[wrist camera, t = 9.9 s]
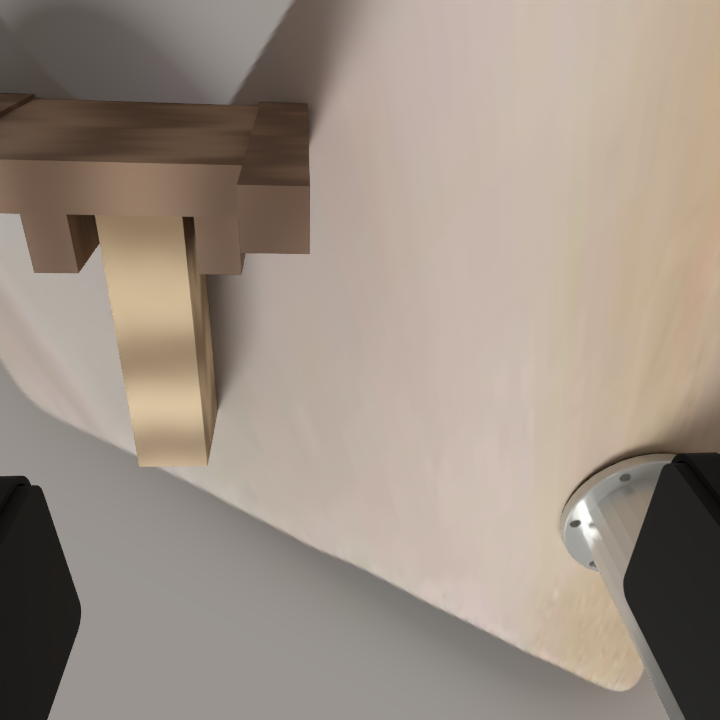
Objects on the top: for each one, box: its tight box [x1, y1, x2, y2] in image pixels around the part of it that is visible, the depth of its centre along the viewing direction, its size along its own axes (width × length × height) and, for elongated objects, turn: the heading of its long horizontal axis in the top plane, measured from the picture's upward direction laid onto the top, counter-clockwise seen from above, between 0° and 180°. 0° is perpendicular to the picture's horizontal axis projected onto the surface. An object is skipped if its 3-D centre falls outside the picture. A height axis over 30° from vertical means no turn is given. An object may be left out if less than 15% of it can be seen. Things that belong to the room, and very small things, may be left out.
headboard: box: [0, 93, 310, 275], centre depth 28 cm, size 16×7×14 cm, turn 87°
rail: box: [95, 215, 218, 467], centre depth 36 cm, size 17×4×6 cm, turn 177°
